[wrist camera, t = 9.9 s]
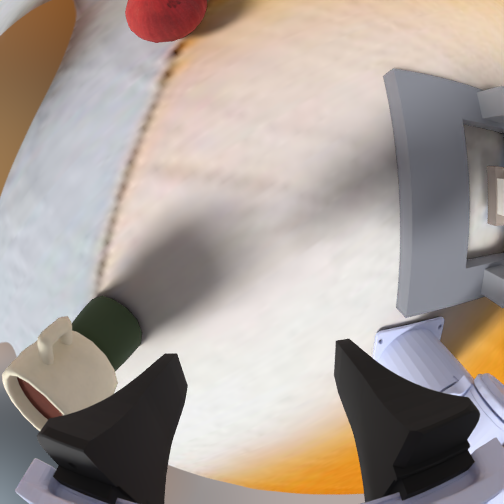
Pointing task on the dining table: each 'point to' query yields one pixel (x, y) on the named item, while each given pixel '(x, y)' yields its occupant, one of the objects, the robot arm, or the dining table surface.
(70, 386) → the character mug
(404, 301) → the grey piece
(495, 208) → the white notched u-block
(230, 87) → the dining table surface
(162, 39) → the onion
